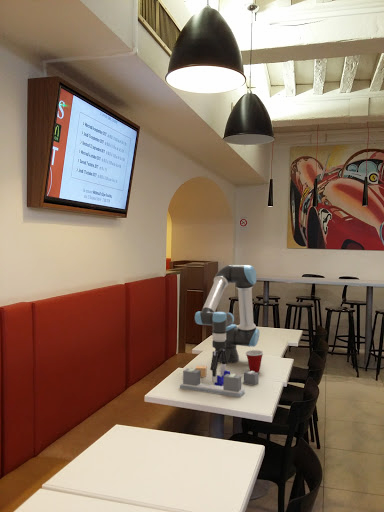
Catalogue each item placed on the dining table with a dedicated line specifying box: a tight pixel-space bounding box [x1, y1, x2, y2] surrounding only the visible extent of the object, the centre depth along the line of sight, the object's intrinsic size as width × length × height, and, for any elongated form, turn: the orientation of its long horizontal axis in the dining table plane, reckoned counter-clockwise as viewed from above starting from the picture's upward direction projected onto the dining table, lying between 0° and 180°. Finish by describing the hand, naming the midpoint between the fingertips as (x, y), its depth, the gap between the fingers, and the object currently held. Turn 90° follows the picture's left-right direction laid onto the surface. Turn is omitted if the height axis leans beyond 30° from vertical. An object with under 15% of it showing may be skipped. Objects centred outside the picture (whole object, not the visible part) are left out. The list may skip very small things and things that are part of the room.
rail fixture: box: [179, 367, 245, 398], centre depth 240 cm, size 6×34×10 cm, turn 66°
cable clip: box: [213, 370, 231, 386], centre depth 251 cm, size 12×4×6 cm, turn 145°
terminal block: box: [194, 365, 208, 378], centre depth 267 cm, size 5×6×5 cm
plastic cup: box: [245, 349, 264, 373], centre depth 276 cm, size 11×11×12 cm
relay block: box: [243, 370, 260, 386], centre depth 253 cm, size 4×7×6 cm, turn 56°
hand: (218, 378), depth 252 cm, fingers closed on cable clip, 12 cm apart
